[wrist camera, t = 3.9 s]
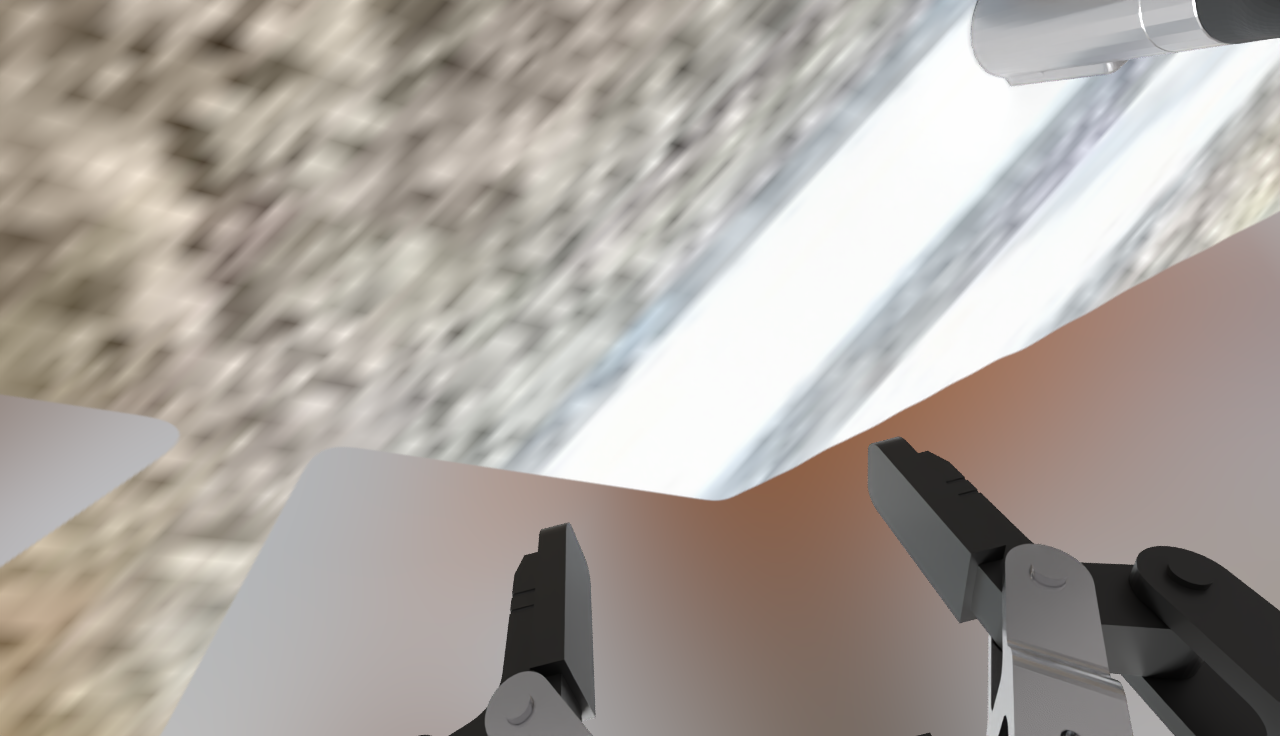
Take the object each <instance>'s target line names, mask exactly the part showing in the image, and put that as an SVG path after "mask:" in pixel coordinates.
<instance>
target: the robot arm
mask: <svg viewBox="0 0 1280 736" xmlns="http://www.w3.org/2000/svg"><path fill="white" fill-rule="evenodd" d="M1274 38H1280V0H979V1H978V3H977V5H976V8H975V12H974V16H973V20H972V29H971V39H972V47H973V51H974V55H975V57H976V59H977V61H978V63H979V65H980V66H981V67H982V68H983V69H984V70H985V71H986V72H988V73H990V74H992V75H993V76H998V77H1003V78H1005V79H1006V80H1007V81H1008V83H1009V85H1010V86H1018V85H1026V84H1034V83H1042V82H1050V81H1058V80H1067V79H1075V78H1083V77H1091V76H1099V75H1107V74H1111V73H1114V72H1115V71H1117V70H1118V69H1120V68H1121V67H1122V66H1123V65H1124V64H1125V63H1126V62H1127V61H1128V60H1130V59H1137V58H1144V57H1150V56H1157V55H1164V54H1171V53H1177V52H1183V51H1190V50H1197V49H1204V48H1211V47H1217V46H1224V45H1231V44H1240V43H1247V42H1253V41H1259V40H1266V39H1274ZM868 490H869V494H870V498H871V500H872V502H873V505H874V506H875V508H876V510H877V511H878V512H879V514H880V515H881V517H882V518H883V519H884V521H885V522H886V523H887V525H888V526H889V528H890V529H891V530H892V532H893V533H894V534H895V536H896V537H897V538H898V540H899V541H900V543H901V544H902V545H903V546H904V548H905V549H906V551H907V552H908V553H909V555H910V556H911V558H912V559H913V560H914V562H915V563H916V564H917V566H918V567H919V568H920V570H921V571H922V573H923V574H924V575H925V577H926V578H927V579H928V581H929V582H930V583H931V585H932V586H933V587H934V589H935V590H936V592H937V593H938V594H939V596H940V597H941V598H942V600H943V601H944V602H945V604H946V605H947V607H948V608H949V609H950V611H951V612H952V613H953V615H954V616H955V618H956V619H957V620H958V621H959V623H962V622H966V621H970V620H974V619H978V620H979V621H980V623H981V624H982V626H983V627H984V628H985V629H986V631H987V632H988V633H989V639H988V644H989V645H988V723H987V734H986V736H1133V732H1132V727H1131V721H1130V716H1129V710H1128V705H1127V700H1126V695H1125V692H1124V689H1123V687H1122V685H1121V683H1120V682H1119V681H1118V680H1115V679H1112V678H1111V676H1110V673H1114V674H1121V675H1122V676H1123V677H1124V678H1125V680H1126V681H1127V682H1128V683H1129V684H1130V685H1131V686H1132V688H1133V689H1134V690H1135V691H1136V692H1137V693H1138V694H1139V695H1140V696H1141V698H1142V699H1143V700H1144V701H1145V702H1146V703H1147V704H1148V706H1149V707H1150V708H1151V709H1152V710H1153V711H1154V713H1155V714H1157V716H1158V717H1159V718H1160V720H1161V721H1162V722H1163V723H1164V724H1165V725H1166V726H1167V727H1168V729H1169V730H1170V731H1171V732H1172V733H1173V734H1174V735H1175V736H1280V611H1279V610H1278V609H1277V608H1275V607H1274V606H1273V605H1272V604H1270V603H1269V602H1268V601H1266V600H1265V599H1264V598H1263V597H1261V596H1260V595H1259V594H1257V593H1256V592H1255V591H1254V590H1252V589H1251V588H1250V587H1248V586H1247V585H1246V584H1244V583H1243V582H1242V581H1241V580H1239V579H1238V578H1237V577H1235V576H1234V575H1233V574H1232V573H1230V572H1229V571H1228V570H1227V569H1225V568H1224V567H1222V566H1221V565H1219V564H1218V563H1216V562H1214V561H1213V560H1211V559H1209V558H1206V557H1205V556H1203V555H1200V554H1197V553H1194V552H1192V551H1189V550H1185V549H1181V548H1176V547H1169V546H1156V547H1150V548H1147V549H1145V550H1143V551H1142V552H1141V553H1139V555H1138V557H1137V559H1136V561H1135V564H1134V565H1125V564H1100V563H1081V562H1079V561H1078V560H1077V559H1075V558H1074V557H1072V556H1071V555H1069V554H1067V553H1065V552H1063V551H1061V550H1059V549H1056V548H1053V547H1050V546H1046V545H1041V544H1034V543H1032V542H1031V541H1030V540H1029V539H1028V538H1027V537H1025V535H1024V534H1023V533H1022V532H1021V531H1020V530H1019V529H1017V528H1016V527H1015V526H1014V525H1013V524H1012V523H1011V522H1010V521H1009V520H1008V519H1007V518H1006V517H1005V516H1004V515H1003V514H1002V513H1001V512H1000V511H999V510H998V509H997V508H996V507H995V506H994V505H993V504H992V503H991V502H990V501H989V500H988V499H987V498H985V497H984V496H983V494H982V493H978V491H977V489H976V488H975V487H974V486H973V485H972V484H971V483H970V482H969V481H968V480H965V477H964V476H963V475H962V474H961V473H960V472H959V471H958V470H957V469H956V468H955V467H954V466H953V465H952V464H951V463H950V462H948V461H946V460H944V459H942V458H940V457H939V456H936V455H935V454H933V453H931V452H929V451H925V452H921V453H917V452H916V451H915V450H914V449H913V448H912V446H911V445H910V444H909V443H908V442H907V441H906V440H904V439H903V438H902V437H895V438H891V439H887V440H884V441H880V442H876V443H872V444H870V445H869V448H868ZM512 595H513V598H512V600H511V609H510V611H511V614H510V617H509V624H508V632H507V641H506V649H505V657H504V665H503V674H502V679H501V683H500V686H499V688H498V689H497V690H496V691H495V693H494V694H493V696H492V698H491V699H490V701H489V704H488V707H487V708H486V709H485V710H484V711H483V712H482V713H481V714H480V715H479V716H478V717H477V718H475V719H474V720H473V721H471V722H470V723H468V724H467V725H465V726H464V727H462V728H461V729H459V730H457V731H456V732H454V733H452V734H451V735H449V736H593V735H592V734H591V733H590V732H589V730H588V729H587V728H586V727H585V726H584V724H583V723H582V721H584V720H588V719H592V718H595V695H594V694H595V693H594V666H593V665H594V664H593V640H592V639H593V637H592V610H591V583H590V575H589V570H588V566H587V562H586V559H585V557H584V555H583V552H582V550H581V548H580V545H579V543H578V541H577V538H576V536H575V533H574V531H573V528H572V526H571V524H570V523H564V524H561V525H557V526H553V527H549V528H545V529H541V531H540V534H539V546H538V552H536V553H532V554H528V555H525V556H524V557H523V559H522V561H521V563H520V565H519V567H518V569H517V571H516V573H515V575H514V583H513V591H512ZM420 736H430V735H420ZM918 736H931V734H930V733H926V734H923V735H918Z"/></svg>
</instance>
